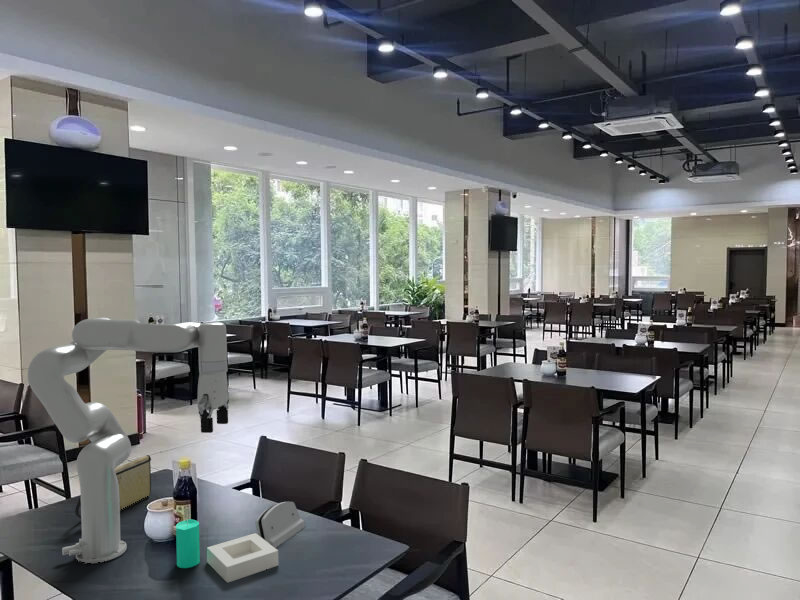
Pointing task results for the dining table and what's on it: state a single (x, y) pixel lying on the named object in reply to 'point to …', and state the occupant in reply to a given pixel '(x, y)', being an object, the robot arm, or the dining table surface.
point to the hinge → (279, 523)
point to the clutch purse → (131, 482)
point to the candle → (187, 543)
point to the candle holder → (242, 557)
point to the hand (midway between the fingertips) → (215, 427)
